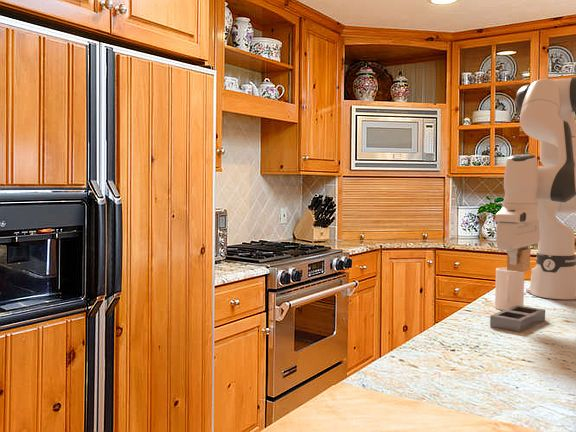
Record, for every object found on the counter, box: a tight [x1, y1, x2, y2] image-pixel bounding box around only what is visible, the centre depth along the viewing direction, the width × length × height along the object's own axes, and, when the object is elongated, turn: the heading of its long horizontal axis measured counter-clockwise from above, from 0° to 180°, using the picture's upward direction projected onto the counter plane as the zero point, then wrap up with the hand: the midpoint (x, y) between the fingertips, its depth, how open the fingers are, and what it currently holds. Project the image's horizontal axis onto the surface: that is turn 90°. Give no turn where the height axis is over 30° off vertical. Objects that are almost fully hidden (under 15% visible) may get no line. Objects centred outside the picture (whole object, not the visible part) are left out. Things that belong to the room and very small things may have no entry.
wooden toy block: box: [506, 247, 531, 273], centre depth 153 cm, size 4×4×6 cm
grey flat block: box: [489, 305, 546, 333], centre depth 150 cm, size 17×8×3 cm, turn 135°
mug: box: [493, 266, 525, 311], centre depth 167 cm, size 12×8×12 cm
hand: (518, 263), depth 153 cm, fingers closed on wooden toy block, 4 cm apart
